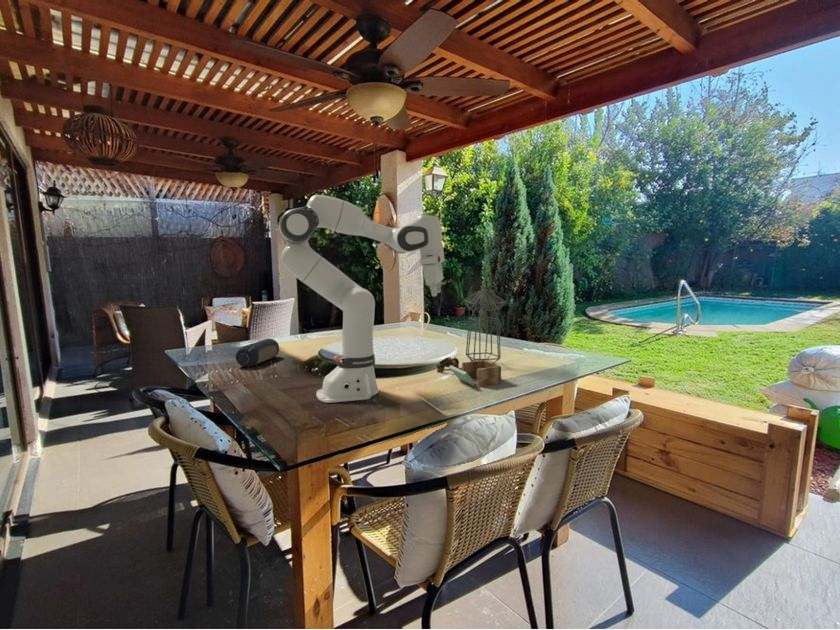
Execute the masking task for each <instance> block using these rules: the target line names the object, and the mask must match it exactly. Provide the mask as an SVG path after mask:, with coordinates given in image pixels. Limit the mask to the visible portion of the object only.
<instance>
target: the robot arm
mask: <svg viewBox="0 0 840 630" xmlns="http://www.w3.org/2000/svg"><path fill="white" fill-rule="evenodd" d="M319 228H323V229H328V230H329V231H333V232H335V233H339V234H343V235H349V236H358V237H359V236H360V237H366V238H368V239H371V240H374V241H377V242H380V243H382V244H384V245H386V246H387V247H388V248H389V249H390V250H392V251H393V252H394V253H396V254H403V255H404V254H406V253H412V252H415V251H417V250H419V254H420V259H419V262H420V265H421V266H422V273H423V277H424V282H425V285H426V286H429V289H430V292H431V296H432V297H437V296H438V294H440V293H441V292H442V291H441V286H442V281H443V280H444V275H443V274H444V272H443V267H442V266H443V264H442V263H444V262H445V261H446V260H445V252H444V246H443V243H442V242H443V241H442V239H443V234H442V227H441V222H440V220H439V218H438V216H436V215H434V214H429V213H427V214H425V213H424V214H420V215H418V216H417V217H416V218H415V219H413V220H412V221H410V222H408V223H407V224H405V225H403V226H399V227H388V226H386V225H384V224H380V223H379V222H375V221H373V220H371V219H370V218H368V217H367V216H366V215H365V213H364V211H363V209H362V208H360V207H359V206H357V205H355V204H353V203H351V202H349V201H347V200H343V199H341V198H337V197H333V196H330V195H324V194H314V195H312V196H311V197H310V198H309V200H308V201H307V204H306V205H305V206H302V207H295V208H291V209H289V210H287V211H286V212H284V213H283V214H282V216H281V218H280V219H279V222H278V229H279V232H280V235H281V237H282V239H283V240H282V241H284V244H285V247H284V248H283V249H282V251H281V254H280V262H281V263H282V265H283V266H284V268H285V269H286V270H288V271H289V272H290V273H291V274H292V275H293V276H294V277H295V278H296V279H298V280H299V281H300V282H301V283H303V284H305V285H306V286H307V287H309V288H310V289H311V290H313V291H314V292H316V293H317V294H318V295H320V296H321V297H323V298H324V299H326V300H327V301H328V302H329V303H332V304H333V305H334V306H336V307H337V308H339V309H340V310H341V311H342V333H341V341H342V342H341V343H342V355H341V356H339V355H335V356H334V357H333V361H335V362H336V363H337V365H336V367H335V368H334V369H332V370H331V371H330V372H329V373H328V374H327V375H326V376H324V378H323V382H322V388H321V389H318V390H317V391H316V392H315V393H316V397H317V399H318V401H320V402H323V403H328V404H329V403H330V404H331V403H339V402H340V403H341V402H352V401H354V402H355V401H365V400H369V399H371V397H373V396H375V395H376V394H378V393H379V392H380V389H379V388H378V387H379V386H378V383H377V380H376V379H377V378H376V373H375V368H376V357H375V353H374V324H375V308H376V300H375V297H374V295H373V294H372V292H370V291H369V290H368V289H366V288H363V287H362V286H360V285H359V284H358V283H356V282H355V281H353V280H352V279H351V278H350V277H349V276H348V275H346V274H345V273H344V272H342V270H340V269H339V268H338V267H336V266H335V265H334V264H332V263H331V262H330V261H328V259H326V258H325V257H323V256H322V255H320V254H319V253H318V252H316V251H315V250H314V249H313V248H312V247H311V246H310V243H309V240H310V238H311V237H312V235H313V233H314V232H315V231H316V229H319Z"/></svg>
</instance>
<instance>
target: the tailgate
mask: <svg viewBox="0 0 840 630" xmlns="http://www.w3.org/2000/svg"><path fill="white" fill-rule="evenodd" d="M448 368H449V370H450V371H451V372H452V373H453V375H454V376H456V378H457V379H458V380H459V381H461V382H463V383H466V384H467V385H470V386H471V387H473V388H476V387H477V386H476V385H477V384H476V383H475V382H474V381H473V380H472V378H471V377H470V376H469V375H468V373H467V372H465V371H463V370H462V369H460V368H459V369H458V368H456V367H454V366H452V365H451V366H450V367H448Z"/></svg>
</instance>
